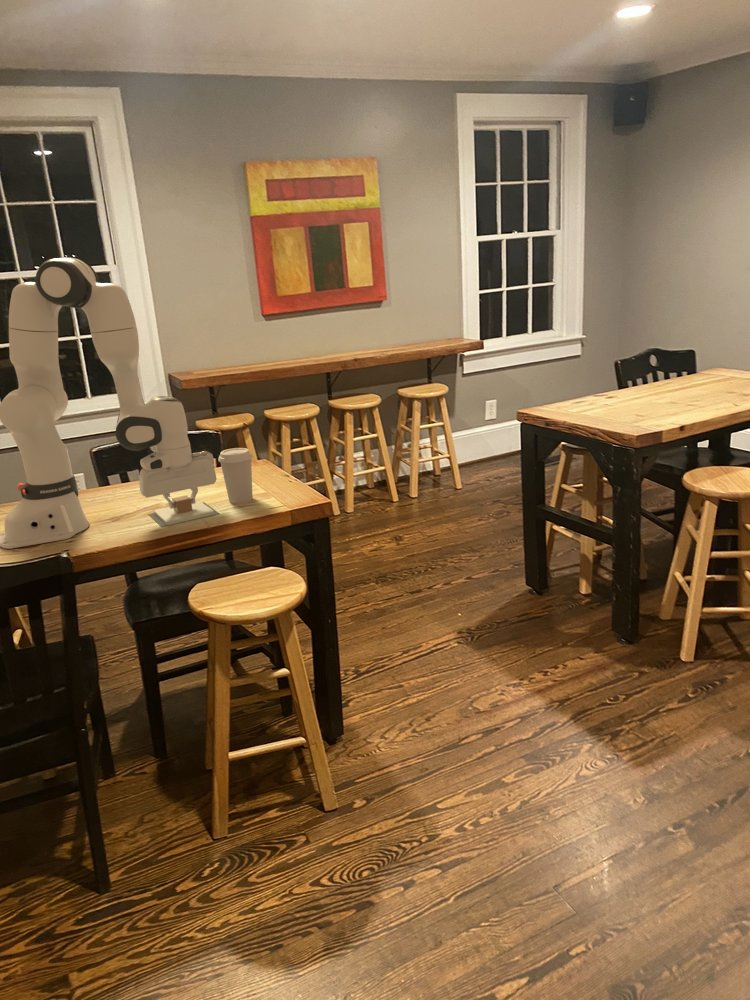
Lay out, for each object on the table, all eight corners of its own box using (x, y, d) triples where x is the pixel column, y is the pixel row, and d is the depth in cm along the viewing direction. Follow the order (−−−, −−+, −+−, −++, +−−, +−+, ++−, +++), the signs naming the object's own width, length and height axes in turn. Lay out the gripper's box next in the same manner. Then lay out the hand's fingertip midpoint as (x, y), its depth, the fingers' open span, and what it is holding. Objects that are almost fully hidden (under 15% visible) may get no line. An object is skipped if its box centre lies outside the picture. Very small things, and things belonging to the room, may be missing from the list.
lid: (166, 525, 190) (164, 509, 188) (153, 513, 201) (151, 498, 199) (214, 514, 196) (212, 498, 195) (199, 503, 207) (197, 488, 205)
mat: (162, 529, 189) (161, 527, 189) (148, 516, 200) (148, 514, 200) (220, 515, 196) (220, 513, 196) (204, 504, 208) (204, 502, 208)
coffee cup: (218, 507, 204) (211, 455, 200) (232, 496, 213) (226, 447, 208) (250, 507, 202) (243, 455, 197) (263, 497, 210) (257, 447, 206)
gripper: (208, 447, 201) (215, 495, 205) (133, 461, 191) (142, 511, 195) (216, 451, 196) (222, 500, 200) (139, 465, 186) (148, 516, 190)
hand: (182, 505), depth 197 cm, fingers closed on lid, 4 cm apart
